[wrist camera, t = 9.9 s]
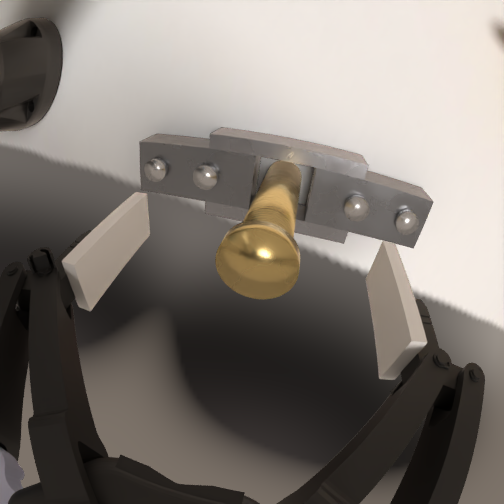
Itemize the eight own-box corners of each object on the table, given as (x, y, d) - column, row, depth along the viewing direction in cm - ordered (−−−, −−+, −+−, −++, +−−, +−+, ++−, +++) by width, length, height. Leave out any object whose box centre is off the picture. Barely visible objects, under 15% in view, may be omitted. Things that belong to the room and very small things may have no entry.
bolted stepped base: (156, 189, 27) (138, 204, 24) (156, 121, 23) (135, 129, 20) (400, 241, 25) (409, 263, 22) (426, 176, 21) (441, 191, 18)
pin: (258, 193, 25) (214, 289, 15) (264, 151, 23) (217, 223, 12) (302, 202, 25) (289, 306, 14) (311, 160, 23) (307, 241, 12)
